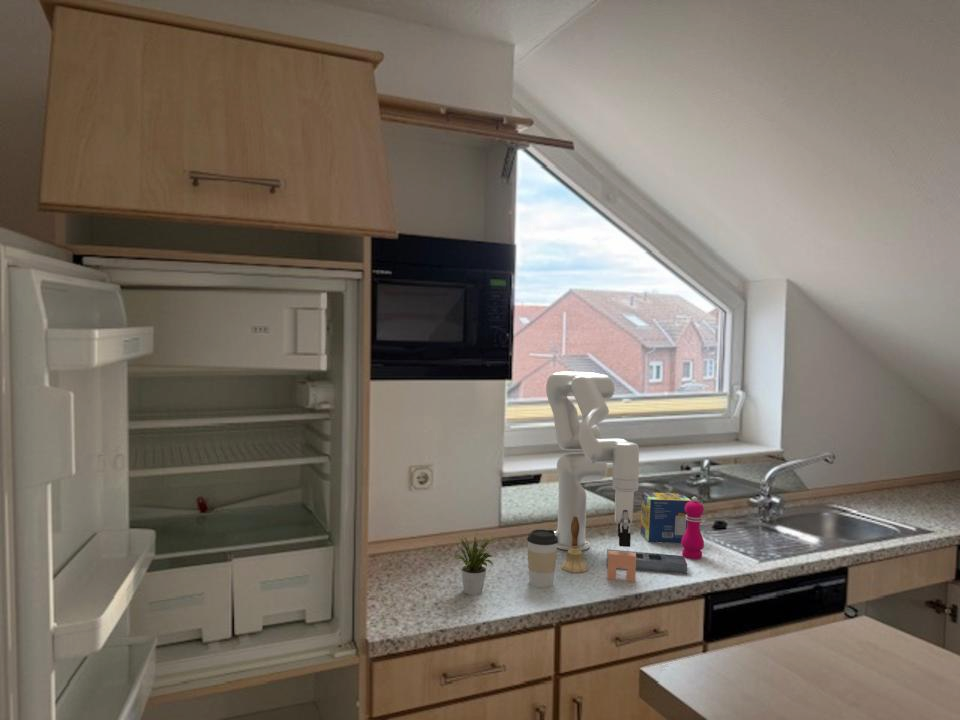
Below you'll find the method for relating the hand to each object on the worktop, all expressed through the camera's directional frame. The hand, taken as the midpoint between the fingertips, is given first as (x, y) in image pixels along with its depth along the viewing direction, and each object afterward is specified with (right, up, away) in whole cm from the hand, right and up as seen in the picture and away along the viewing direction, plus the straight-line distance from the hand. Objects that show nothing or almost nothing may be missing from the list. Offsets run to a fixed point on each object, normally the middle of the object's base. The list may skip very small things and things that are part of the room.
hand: (623, 541), depth 193 cm
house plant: (-46, -10, -13) cm, 49 cm away
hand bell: (-13, -11, +8) cm, 19 cm away
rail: (+10, -11, +12) cm, 19 cm away
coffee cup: (-25, -11, -5) cm, 28 cm away
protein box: (+24, -11, +42) cm, 50 cm away
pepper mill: (+28, -12, +23) cm, 38 cm away
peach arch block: (-1, -11, +1) cm, 11 cm away
